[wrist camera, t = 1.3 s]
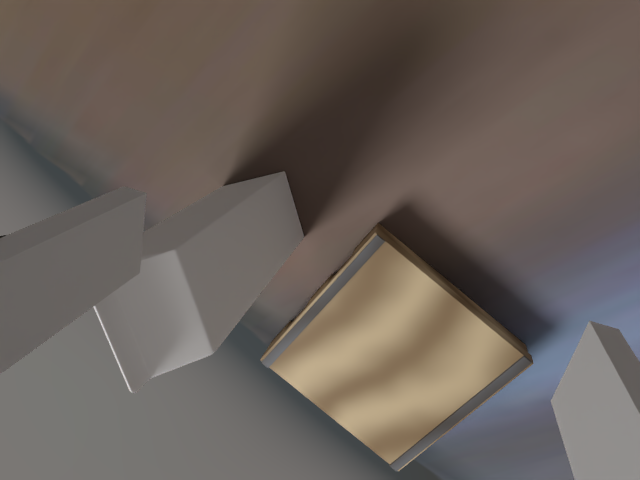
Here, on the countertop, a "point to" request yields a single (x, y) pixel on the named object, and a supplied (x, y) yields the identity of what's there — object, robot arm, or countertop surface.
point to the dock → (395, 350)
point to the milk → (199, 276)
